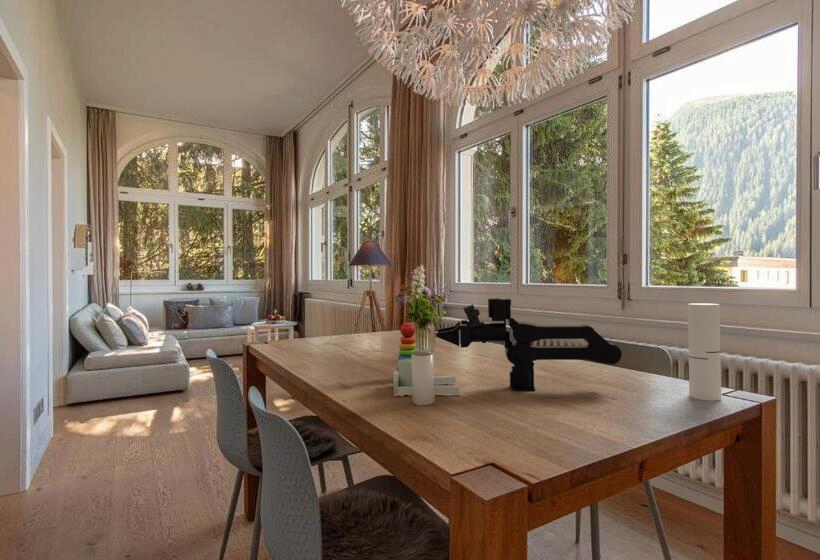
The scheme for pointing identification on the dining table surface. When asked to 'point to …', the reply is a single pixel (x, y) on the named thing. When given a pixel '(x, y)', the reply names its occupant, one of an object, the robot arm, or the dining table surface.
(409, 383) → the grey-green cylinder
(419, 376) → the cream jar
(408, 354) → the stacking toy
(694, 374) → the cylindrical container
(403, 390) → the white u-shaped frame
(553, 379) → the dining table surface
